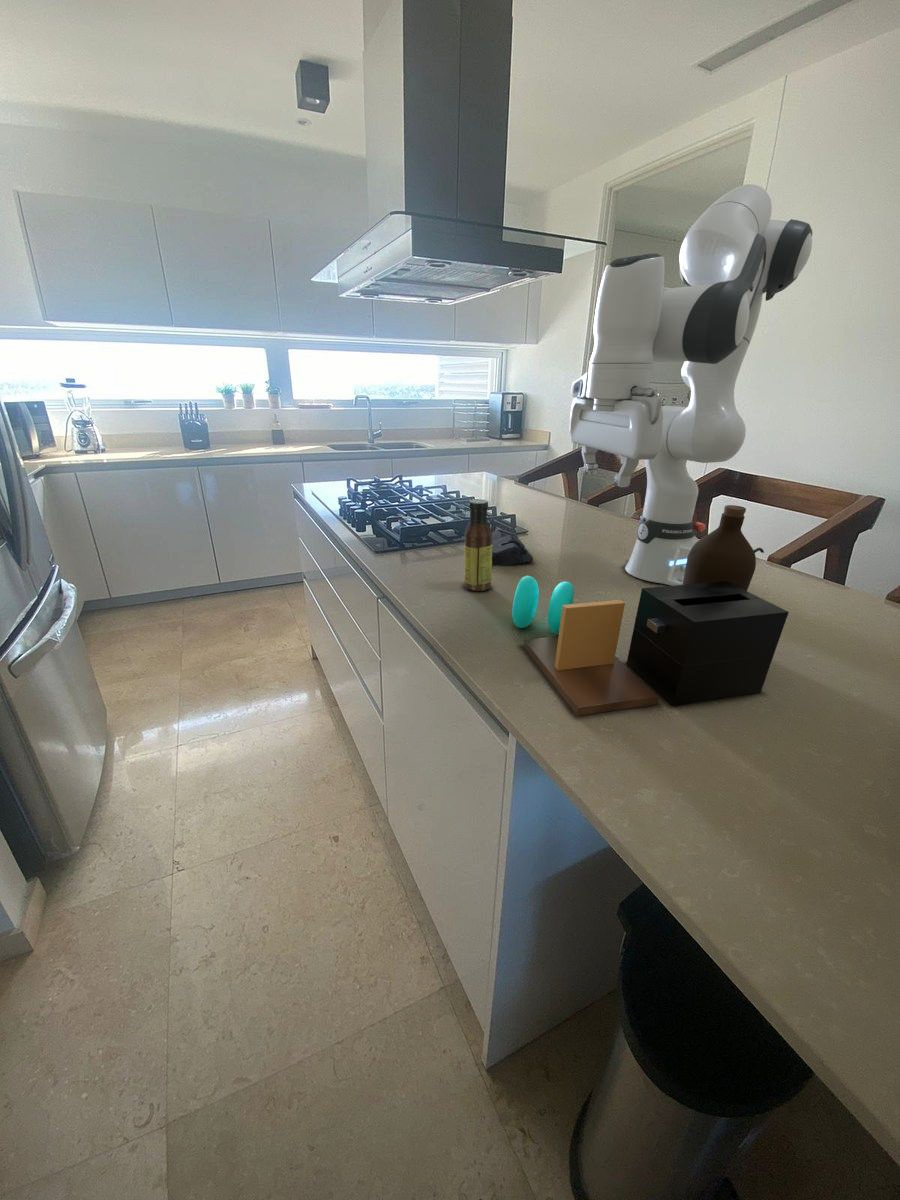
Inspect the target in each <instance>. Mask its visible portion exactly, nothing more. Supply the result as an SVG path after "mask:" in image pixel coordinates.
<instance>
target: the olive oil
mask: <svg viewBox="0 0 900 1200" xmlns="http://www.w3.org/2000/svg"><path fill="white" fill-rule="evenodd" d="M746 512H747V508H746V507H744V506H742V505H735V504H727V505H725V506H724V509H723V513H721V516H720V520H719V524H718V527H717V528H716V529H714V530H713V531H710V532H709V533H708V534H705V536H703V537H702V538H700V539H698V540H699V541H698V542H696V543H695V544H694V546H693V547H692V549H691V550H690V552H689V554H688V557H687V562H686V568H685V573H684V579H683V585H686V584H698V583H710V582H722V581H727V582H729V583H731V584H733V585H735V586H737V587H739V588H741V589H743V590H745V591H747V592H748V590H749V587H750V584H751V582H752V579H753V576H754V574H755V572H756V567H757V558H756V557H757V556H756V553H755V552H754V550H755V549H754V548H753V547H752V546H751V544H750V542H749V541H748V540H747V538H746V536H745V535H744V533H743V531H742V527H743V524H744V521H745V513H746Z"/></svg>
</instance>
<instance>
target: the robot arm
mask: <svg viewBox="0 0 900 1200" xmlns="http://www.w3.org/2000/svg"><path fill="white" fill-rule="evenodd" d="M772 210H773V205H772V200H771V197H770V195H769V193H768V191H766V190H765V189H764V188H763V187H762V186H760V185H756V184H751V183H749V184H743V185H739V186H737V187H735V188H733V189H731V190H730V191H728V192H726V193H725V194H723V195H722V196H721V197H719V198H717V200H715V201H714V202H713V203H712V204H711V205H710V206H709V207H707V209H705V211H703V212H702V214H701V215H700V216H699V217H698V218H697V219H696V220H695V222H694V223H693V224H692V225H691V227H690V228H689V229H688V231H687V233H686V235H685V236H684V239H683V241H682V243H681V246H680V250H679V261H678V262H679V277H680V279H681V281H682V283H683V284H684V285H685V286H681V287H672V288H666V286H665V257H664V256H663V255H661V254H660V253H644V254H638V255H633V256H632V255H631V256H626V257H619V258H616V259H614V260H612V261H611V262H610V263H608V264H607V265H606V266H605V269H604V271H603V274H602V278H601V281H600V284H599V285H600V286H599V288H598V294H597V299H596V306H595V313H594V318H593V327H592V330H593V331H592V332H593V339H594V344H593V350H592V354H591V356H590V359H589V364H588V371H586V372H585V373H584V374H583V375H582V376H581V377H580V378H578V379H575V380H574V381H573V382H572V384H571V389H570V394H571V397H573V400H572V403H571V406H570V417H569V431H568V432H569V437H570V441H571V443H572V444H575V445H579V446H581V456H582V461H583V471H582V472H583V474H584V475H587V476H596V475H597V474H598V469H599V464H598V463H597V462H596V453H598V451H602V452H604V453H605V452H606V453H609V454H613V455H616V456H619V457H620V464H622V465H621V467H620V470H619V472H618V473H615V474H614V480H613V484H614V485H615V486H616V487H619V488H628V487H629V486H630V485H631V478H632V476H633V474H634V472H635V471H636V469H637V468H638V466H639V463H640V461H641V460H642V461H644V465H645V471H646V491H645V498H644V503H643V509H642V510H643V511H642V514H641V515H640V517H639V519H638V520H639V521H638V525H637V533H636V534H637V536H636V539H635V544H634V546H633V550H632V552H631V555H630V557H629V559H628V562H627V564H626V565H625V567H624V570H625V572H627V573H628V574H629V575H631V576H632V577H634V578H638V579H640V580H642V581H647V582H652V583H658V584H663V585H666V586H674V585H683V579H684V573H685V568H686V562H687V557H688V554H689V552H690V550H691V549H692V547H693V546H694V544H695V543H696V542H698V541H699V540H700V539H698V537H697V536H696V531H698V532H699V533H704V531H705V530H706V528H707V525H706V524H705V523H703V522H700V521H697V522H695V521H694V520H693V517H694V513H695V509H696V504H697V500H698V496H699V485H698V483H697V482H696V481H695V480H694V479H693V478H692V476H691V475H690V473H689V471H688V468H687V461H689V462H695V463H702V464H709V463H711V464H712V463H713V464H714V463H724V462H727V461H729V460H731V459H732V458H733V457H735V455H736V454H738V452H739V451H740V450H741V448H742V447H743V446H744V445H743V444H744V442H745V439H746V432H747V431H746V425H745V422H744V419H743V417H742V416H741V415H740V414H739V412H738V410H737V407H736V404H735V403H736V402H735V388H736V382H737V379H738V376H739V373H740V371H741V367H742V365H743V362H744V359H745V357H746V355H747V351H748V350H749V346H750V344H751V341H752V340H753V339H752V338H753V336H754V333H755V330H756V328H757V324H758V321H759V316H760V314H761V308H762V302H763V295H764V294H765V301H766V302H767V301H770V300H772V299H773V298H774V296H775V295H776V294H778V293H780V292H782V291H785V290H786V288H788V287H789V286H790V285H792V283H794V282H795V281H796V280H797V279H798V277H799V275H800V273H801V272H802V271H803V269H804V268H805V266H806V265H807V262H808V260H809V258H810V255H811V252H812V248H813V229H812V227H811V224H810V223H808V222H805V221H802V220H798V219H794V218H793V219H790V220H789V221H788V220H781V219H771V217H772ZM654 362H655V363H674V362H675V363H676V362H677V363H678V362H680V363H683V364H682V367H681V371H680V374H681V375H680V376H681V378H682V381H683V383H684V384H685V385H686V386H687V387H688V388H689V389H690V400H689V403H688V405H687V406H676V405H663V404H662V402H663V401H662V397H661V395H660V394H659V392H658V389H657V388H656V387H650V384H651V378H652V373H653V366H654ZM753 550H754V552H755V554H756V553H757V552H760V553H761V554H763V553H765V550H764V549H763V548H762V547H756V548H755V549H753Z"/></svg>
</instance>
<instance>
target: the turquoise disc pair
mask: <svg viewBox="0 0 900 1200" xmlns="http://www.w3.org/2000/svg"><path fill="white" fill-rule="evenodd" d="M539 595H540V590H539V584H538V581H537V580H536V578H535V577H533V576H532V575H525V576H523V577H521V578H520V579H519V581H518V583H517V586H516V589H515V592H514V597H513V602H512V612H511V613H512V615H511V616H512V621H513V624H514V625H515V626H516V627H517V628H520V629H524V628H527V627H528V626H529V625H531V623H532V622H533V620H534V618H535V615H536V613H537V609H538V604H539V598H540V597H539ZM574 595H575V588H574V585H573V584H572V583H571V582H569V581H561V582H559V583H558V584H557V585H556V586H555V588H554V589H553V591H552V593H551V597H550V601H549V606H548V613H547V625H548V628H549V630H550V631H551V632H552V633H553V634H554V635H558V636H559V629H560V622H561V615H562V607H563V605H568V604H574Z"/></svg>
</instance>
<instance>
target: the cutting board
mask: <svg viewBox="0 0 900 1200" xmlns="http://www.w3.org/2000/svg"><path fill="white" fill-rule="evenodd" d="M558 637H559V635H558V636H548V637H539V638H538V637H537V638H529V639H524V640H523V649H524V650H525V651H526V652H527V654H528V655H529V657H530V658H531V659H532V660H533V662H535V664H536V665H537V667H539V669H540V670H541V672H542V673H543V675H545V677H546V678H547V680H548V681H549V682H550V683H551V685H552V686H553V687H554V689H555V690H556V691H557V692H558V693H559V695H560V696H561V698H562V699H563V700H564V701H565V702H566V704H567V705H568V707H570V709H571V711H572V712H574V714H575V715H576V717H579V716H580V717H581V716H586V715H593V714H600V713H606V712H613V711H619V710H620V711H621V710H625V709H626V710H628V709H633V708H640V707H646V706H653V705H657V704H658V703H657V702H658V698H659V694H658V693H656V692H655V691H654V690H652V688H651V687H650V686H649V685H648V684H647V683H646V682H645V681H644V680H643V681H642V679H640V677H639V676H638V675H637V674H636V673H635V672H634V671H633V670H632V669H631V668H629V667H627V666H626V664H624V662H622V661H621V660H620V659H619V658H618V657H616V655H615V658H614V663H613V664H606V665H598V666H590V667H582V668H574V669H566V670H557V669H556V668H555V659H556V652H557V644H558Z"/></svg>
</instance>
